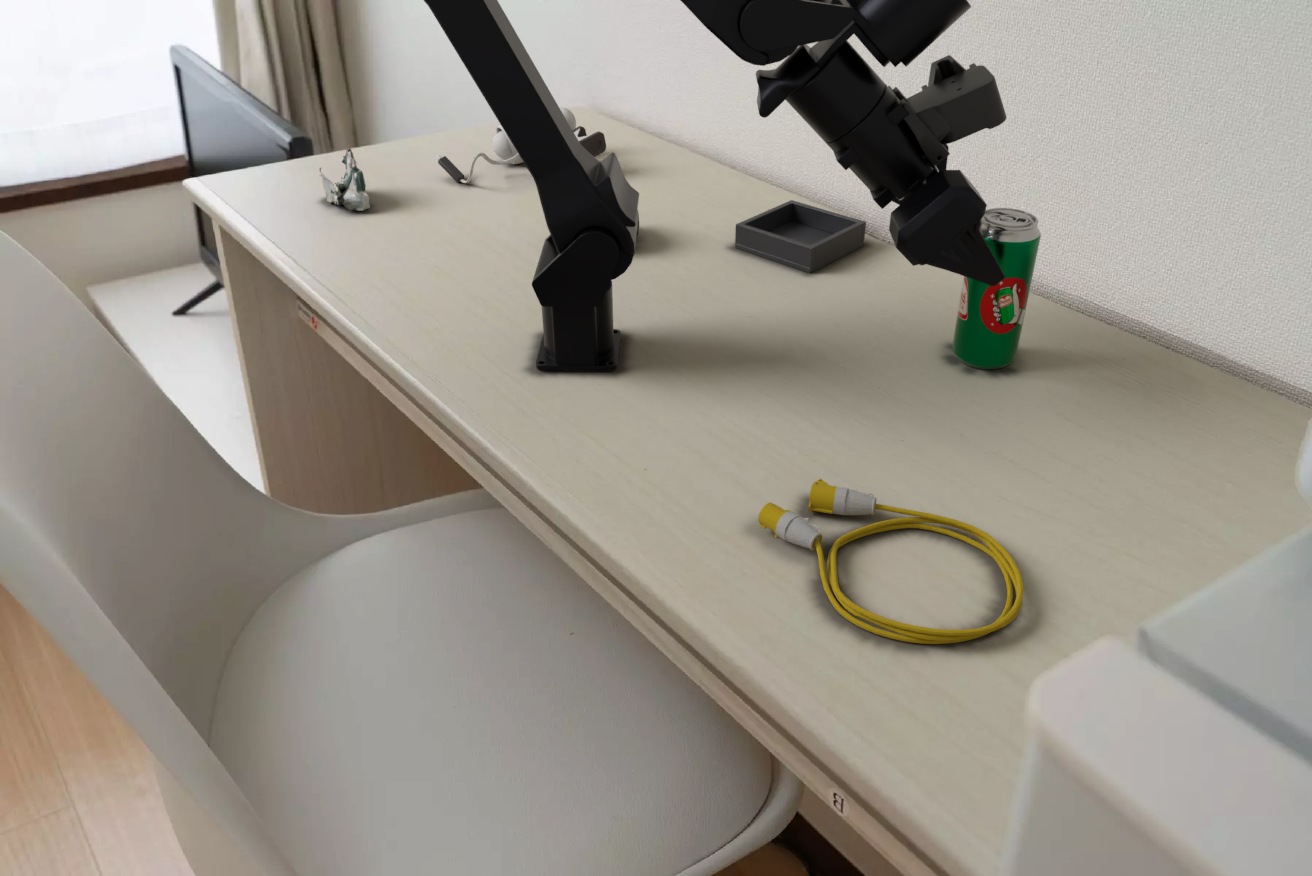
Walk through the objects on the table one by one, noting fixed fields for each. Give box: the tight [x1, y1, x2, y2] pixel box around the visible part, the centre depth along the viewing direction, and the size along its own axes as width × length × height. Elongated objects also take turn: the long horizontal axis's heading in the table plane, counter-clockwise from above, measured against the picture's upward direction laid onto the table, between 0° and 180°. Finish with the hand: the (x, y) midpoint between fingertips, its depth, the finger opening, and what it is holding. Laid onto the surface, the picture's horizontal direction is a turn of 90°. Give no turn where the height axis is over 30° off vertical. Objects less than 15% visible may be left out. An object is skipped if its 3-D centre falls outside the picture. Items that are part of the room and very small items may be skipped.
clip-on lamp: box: [436, 106, 607, 184], centre depth 124 cm, size 12×6×18 cm
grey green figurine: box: [318, 147, 371, 212], centre depth 115 cm, size 4×8×7 cm, turn 31°
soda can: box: [951, 207, 1042, 370], centre depth 84 cm, size 5×5×12 cm
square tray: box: [734, 199, 867, 274], centre depth 106 cm, size 9×9×2 cm
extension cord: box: [757, 478, 1024, 645], centre depth 64 cm, size 12×16×2 cm
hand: (985, 256), depth 82 cm, fingers open, 9 cm apart
